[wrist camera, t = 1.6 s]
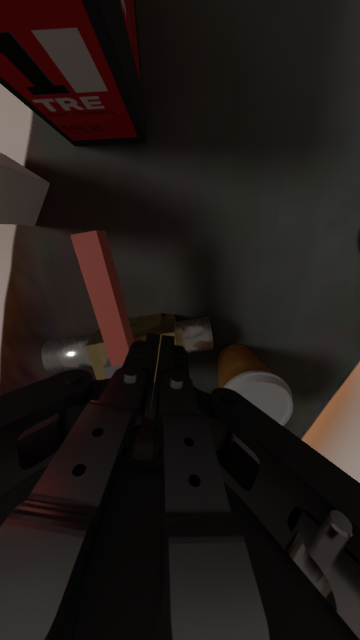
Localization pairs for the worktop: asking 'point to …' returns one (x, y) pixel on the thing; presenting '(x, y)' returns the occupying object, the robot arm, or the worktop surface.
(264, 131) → the worktop surface
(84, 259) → the lever
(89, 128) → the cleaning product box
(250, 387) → the disposable coffee cup
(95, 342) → the pipe valve
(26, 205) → the milk
